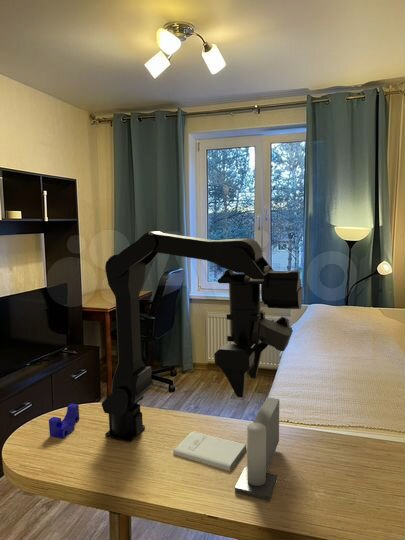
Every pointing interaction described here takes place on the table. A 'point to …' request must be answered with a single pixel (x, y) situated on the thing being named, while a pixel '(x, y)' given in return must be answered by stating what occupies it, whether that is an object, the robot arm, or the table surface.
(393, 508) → the table surface
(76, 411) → the cable holder
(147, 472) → the table surface
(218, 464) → the external hard drive
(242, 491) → the arm mount
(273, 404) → the swing arm
